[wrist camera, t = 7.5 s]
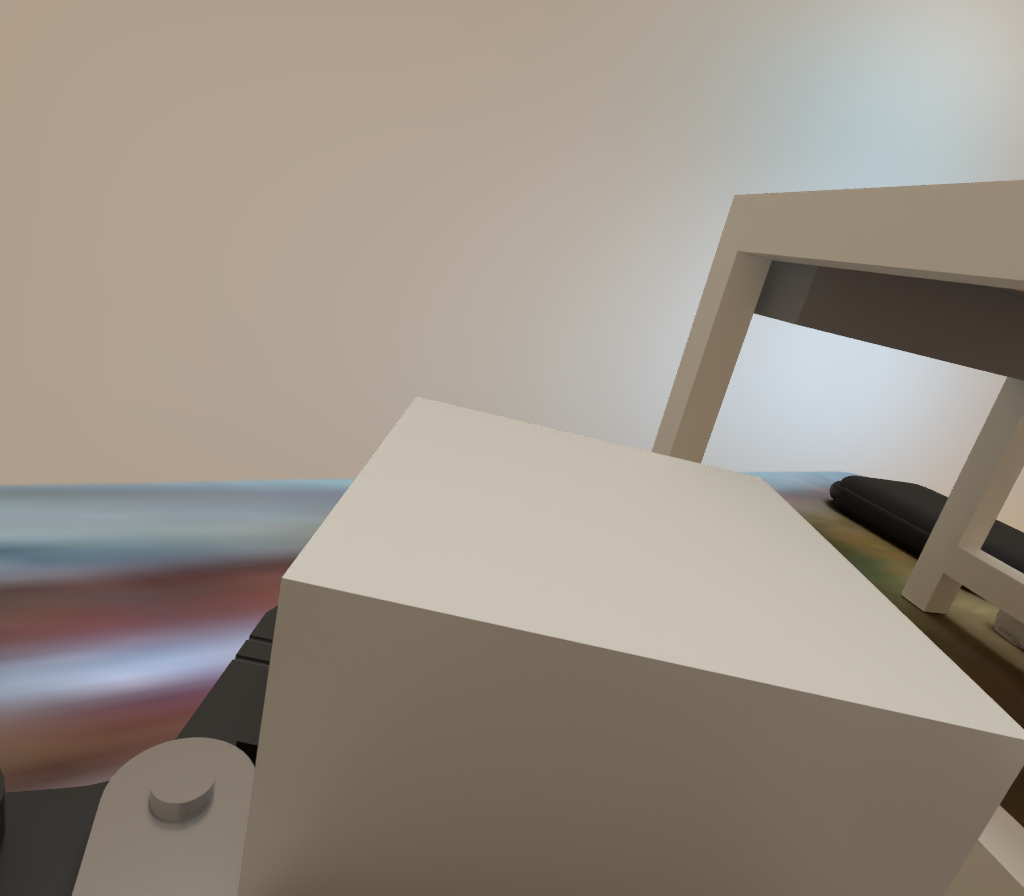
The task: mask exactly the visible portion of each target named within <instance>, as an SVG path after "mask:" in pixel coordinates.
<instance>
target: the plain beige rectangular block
mask: <svg viewBox="0 0 1024 896" xmlns="http://www.w3.org/2000/svg"><path fill="white" fill-rule="evenodd" d="M1023 766H1024V729H1023V728H1022V727H1021V726H1020V725H1019V724H1018V723H1017V722H1016V721H1014V720H1013V719H1012V718H1011V717H1010V716H1009V715H1008V714H1007V713H1006V712H1005V711H1004V710H1003V709H1002V708H1001V707H1000V706H999V705H998V704H997V703H996V702H995V701H994V700H993V699H992V698H991V697H989V696H988V695H987V694H986V693H985V692H984V691H983V690H982V689H981V688H980V687H979V686H978V685H977V684H976V683H975V682H974V681H973V680H972V679H971V678H970V677H969V676H968V675H967V674H965V673H964V672H963V671H962V670H961V669H960V668H959V667H958V666H957V665H956V664H955V663H954V662H953V661H952V660H951V659H950V658H949V657H948V656H947V655H946V654H945V653H944V652H943V651H942V650H940V649H939V648H938V647H937V646H936V645H935V644H934V643H933V642H932V641H931V640H930V639H929V638H928V637H927V636H926V635H925V634H924V633H923V632H922V631H921V630H920V629H919V628H918V627H916V626H915V625H914V624H913V623H912V622H911V621H910V620H909V619H908V618H907V617H906V616H905V615H904V614H903V613H902V612H901V611H900V610H899V609H898V608H897V607H896V606H895V605H894V604H892V603H891V602H890V601H889V600H888V599H887V598H886V597H885V596H884V595H883V594H882V593H881V592H880V591H879V590H878V589H877V588H876V587H875V586H874V585H873V584H872V583H871V582H870V581H869V580H867V579H866V578H865V577H864V576H863V575H862V574H861V573H860V572H859V571H858V570H857V569H856V568H855V567H854V566H853V565H852V564H851V563H850V562H849V561H848V560H847V559H846V558H845V557H843V556H842V555H841V554H840V553H839V552H838V551H837V550H836V549H835V548H834V547H833V546H832V545H831V544H830V543H829V542H828V541H827V540H826V539H825V538H824V537H823V536H822V535H821V534H820V533H818V532H817V531H816V530H815V529H814V528H813V527H812V526H811V525H810V524H809V523H808V522H807V521H806V520H805V519H804V518H803V517H802V516H801V515H800V514H799V513H798V512H797V511H796V510H794V509H793V508H792V507H791V506H790V505H789V504H788V503H787V502H786V501H785V500H784V499H783V498H782V497H781V496H780V495H779V494H778V493H777V492H776V491H775V490H774V489H773V488H772V487H771V486H769V485H768V484H767V483H766V482H765V481H764V480H763V479H762V478H759V477H755V476H751V475H747V474H742V473H738V472H734V471H730V470H725V469H721V468H717V467H713V466H709V465H704V464H700V463H696V462H692V461H687V460H683V459H679V458H675V457H670V456H666V455H662V454H658V453H653V452H649V451H645V450H641V449H636V448H632V447H628V446H624V445H620V444H615V443H611V442H607V441H602V440H598V439H594V438H590V437H586V436H581V435H577V434H573V433H569V432H564V431H560V430H556V429H552V428H548V427H543V426H539V425H535V424H531V423H526V422H522V421H518V420H514V419H509V418H505V417H501V416H496V415H492V414H488V413H483V412H479V411H475V410H471V409H467V408H462V407H459V406H454V405H450V404H445V403H441V402H437V401H433V400H428V399H425V398H420V397H416V398H415V400H414V401H413V402H412V404H411V405H410V406H409V408H408V409H407V410H406V412H405V413H404V414H403V416H402V417H401V418H400V420H399V421H398V422H397V424H396V425H395V426H394V428H393V429H392V430H391V432H390V433H389V434H388V436H387V437H386V439H385V440H384V441H383V443H382V444H381V445H380V447H379V448H378V449H377V451H376V452H375V453H374V455H373V456H372V457H371V459H370V460H369V461H368V463H367V464H366V465H365V467H364V468H363V469H362V471H361V472H360V473H359V475H358V476H357V477H356V479H355V480H354V482H353V483H352V484H351V486H350V487H349V488H348V490H347V491H346V492H345V494H344V495H343V496H342V498H341V499H340V500H339V502H338V503H337V504H336V506H335V507H334V508H333V510H332V511H331V512H330V514H329V515H328V516H327V518H326V519H325V520H324V522H323V523H322V525H321V526H320V527H319V529H318V530H317V531H316V533H315V534H314V535H313V537H312V538H311V539H310V541H309V542H308V543H307V545H306V546H305V547H304V549H303V550H302V551H301V553H300V554H299V555H298V557H297V558H296V559H295V561H294V562H293V563H292V565H291V566H290V568H289V569H288V570H287V572H286V573H285V574H284V576H283V577H282V580H281V588H280V595H279V602H278V609H277V616H276V623H275V630H274V637H273V644H272V651H271V658H270V665H269V672H268V679H267V687H266V694H265V701H264V708H263V715H262V722H261V729H260V736H259V743H258V750H257V757H256V764H255V771H254V779H253V786H252V793H251V800H250V807H249V814H248V821H247V828H246V835H245V842H244V849H243V856H242V863H241V871H240V878H239V885H238V892H237V896H944V894H945V893H946V891H947V889H948V888H949V886H950V884H951V883H952V881H953V880H954V878H955V876H956V875H957V873H958V871H959V870H960V868H961V867H962V865H963V863H964V862H965V860H966V858H967V857H968V855H969V853H970V852H971V850H972V849H973V847H974V845H975V844H976V842H977V840H978V839H979V837H980V836H981V834H982V832H983V831H984V829H985V827H986V826H987V824H988V823H989V821H990V819H991V818H992V816H993V814H994V813H995V811H996V810H997V808H998V806H999V805H1000V803H1001V801H1002V800H1003V798H1004V797H1005V795H1006V793H1007V792H1008V790H1009V788H1010V787H1011V785H1012V784H1013V782H1014V780H1015V779H1016V777H1017V775H1018V774H1019V772H1020V771H1021V769H1022V767H1023Z"/></svg>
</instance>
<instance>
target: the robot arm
mask: <svg viewBox="0 0 1024 896" xmlns="http://www.w3.org/2000/svg"><path fill="white" fill-rule="evenodd" d="M277 609H278V606H276V607H275V608H273V609H271V610H270V611H268V612H266V614H265V615H264V616H263V618H262V619H261V621H260V622H259V623H258V625H257V626H256V628H255V629H254V630H253V632H252V633H251V635H250V637H249V640H246V642H245V643H244V644H243V646H242V647H241V649H240V650H239V651H238V653H237V654H236V657H235V660H232V661H231V663H230V664H229V665H228V667H227V668H226V670H225V671H224V672H223V674H222V675H221V677H220V678H219V679H218V681H217V682H216V684H215V685H214V686H213V688H212V689H211V691H210V692H209V693H208V695H207V696H206V698H205V699H204V700H203V702H202V703H201V705H200V706H199V707H198V709H197V710H196V712H195V713H194V714H193V716H192V717H191V719H190V720H189V721H188V723H187V724H186V726H185V727H184V728H183V730H182V731H181V733H180V734H179V735H178V737H177V738H176V739H175V740H173V741H169V742H165V743H162V744H160V745H157V746H154V747H152V748H150V749H148V750H146V751H144V752H142V753H140V754H139V755H137V756H136V757H134V758H132V759H131V760H130V761H128V762H127V763H126V764H125V765H124V766H122V767H121V768H120V769H119V770H118V771H117V773H116V774H115V775H114V776H113V777H112V778H111V780H110V781H107V782H103V783H98V784H94V785H88V786H81V787H72V788H60V789H47V790H35V791H22V792H10V793H5V785H4V776H3V774H2V772H1V770H0V896H237V892H238V885H239V878H240V871H241V863H242V856H243V849H244V842H245V835H246V828H247V821H248V814H249V807H250V800H251V793H252V786H253V779H254V771H255V764H256V757H257V750H258V743H259V736H260V729H261V722H262V715H263V708H264V701H265V694H266V687H267V679H268V672H269V665H270V658H271V651H272V644H273V637H274V630H275V623H276V616H277Z"/></svg>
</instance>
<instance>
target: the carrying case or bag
mask: <svg viewBox="0 0 1024 896" xmlns="http://www.w3.org/2000/svg"><path fill="white" fill-rule="evenodd" d="M830 495H831V497H832V498H833V503H834V506H835V507H836V508H837V509H839V510H840V511H842V512H843V513H845V514H847V515H848V516H850V517H852V518H854V519H855V520H857V521H859V522H860V523H862V524H864V525H865V526H867V527H869V528H870V529H872V530H874V531H876V532H877V533H879V534H881V535H882V536H884V537H886V538H887V539H889V540H891V541H892V542H894V543H896V544H898V545H899V546H901V547H903V548H904V549H906V550H908V551H910V552H911V553H913V554H915V555H916V556H918V557H920V555H921V553H922V551H923V549H924V547H925V544H926V542H927V540H928V538H929V536H930V534H931V532H932V530H933V528H934V526H935V524H936V522H937V520H938V518H939V516H940V514H941V512H942V510H943V508H944V506H945V504H946V502H947V499H948V497H946V496H944V495H941V494H939V493H937V492H935V491H933V490H931V489H928V488H926V487H923V486H920V485H917V484H913V483H906V482H898V481H891V480H884V479H877V478H869V477H862V476H848V477H845V478H843V479H842V480H841V481H837V482H835V483H834V484H832V485H831V488H830ZM980 550H982V551H984V552H985V553H987V554H989V555H991V556H993V557H994V558H996V559H998V560H1000V561H1002V562H1003V563H1005V564H1007V565H1009V566H1011V567H1012V568H1014V569H1016V570H1018V571H1019V572H1021V573H1023V574H1024V533H1023V532H1021V531H1019V530H1017V529H1015V528H1013V527H1010V526H1008V525H1006V524H1004V523H1002V522H1000V521H998V520H995V522H994V524H993V526H992V528H991V530H990V532H989V534H988V535H987V537H986V539H985V541H984V543H983V545H982V547H981V549H980Z"/></svg>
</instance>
